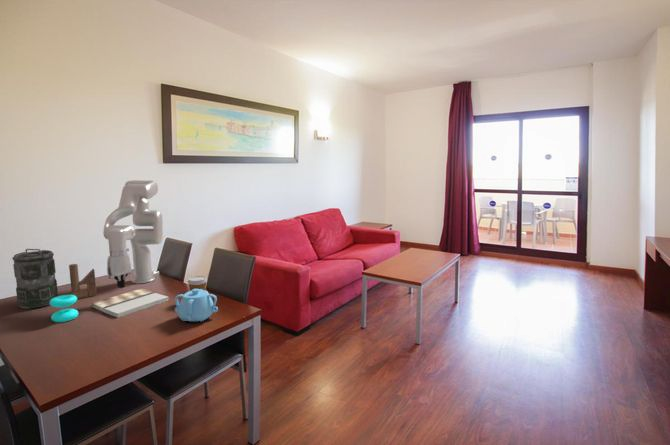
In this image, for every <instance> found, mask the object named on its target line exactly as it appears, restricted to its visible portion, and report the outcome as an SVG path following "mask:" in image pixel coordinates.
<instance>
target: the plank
mask: <svg viewBox="0 0 670 445" xmlns="http://www.w3.org/2000/svg"><path fill="white" fill-rule="evenodd" d="M151 292H153V290H149V289H145V288H142V287H141V288H140V289H135V290H132V291H129V292H124V293H121V294H118V295H115V296H111V297H108V298H104V299H100V300H98V301H93V302H91V308H94V309H96V310H98V311H100V312H102V313H104V309H103V307H106V306H109V305H112V304H115V303H119V302H122V301H125V300H128V299H132V298H135V297H138V296H142V295H145V294H148V293H151Z"/></svg>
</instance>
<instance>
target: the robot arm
mask: <svg viewBox="0 0 670 445" xmlns="http://www.w3.org/2000/svg"><path fill="white" fill-rule="evenodd" d="M158 191H159V186H158V183H157V182H156V181H155V180H138V179H137V180H135V179H134V180H128V181H126V182H125V183H124V186H123V188H122V190H121V195H120V199H119V204H118V207H117V208H115V209H114V210H113V211H112V212H111V213H110V214H109V215H108V216H107V218H106V219H105V221H104V226H103V231H102V232H103V237H104V238H105V239H106V240H107V241H108V250H109V252H108V253H109V255H108V257H107V264H106V270H107V271H106V273H107V275H108V279H110V280H115V281H116V283H117V284H116V285H117V287H118V288H120V289H124V288H126V286H125V285H126V278H127V276H130V275H131V274H132V266H133V278H131V283H132V284H147V283H150V282H153V281H155V280H156V277H155V276H156V275H160V271H159V270H157V271H153V269H152V257H151V256H152V255H151V254H152V253H151V250H150V247H148V246H149V245H150V246H151V245H152V246H153V245H160V244H161V243H162V242H163V215H162V213H161V211H159V210H157V209H156V210H154V209H153V210H151V209H149V206H150V205H149V201H148V200H150V199H152V198H153V197H154V196H156V195H157V193H158ZM129 216H132V224H133V225H134V226H135V227H152V228H135V227H134V226H132V225H124V224H121V225H120V224H119V225H116V223H117V222H118V221H119V220H121V219H125V217H129ZM129 240H130V244H131V250H132V251H131V252H132V263H131V258H130V256H129V253H128V252H129V251H130V248H127V241H129Z"/></svg>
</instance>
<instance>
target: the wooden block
mask: <svg viewBox="0 0 670 445" xmlns="http://www.w3.org/2000/svg"><path fill="white" fill-rule="evenodd" d="M78 266H79V265H78V264H77V263H72V264H68V269H69V278H70V280H69V281H70V287H71V290H70V291H71V292H70V295H75V296H76V297H77V300H78V299H83V298H88V297H95V296H97V284H96V274H95V271H96V270H95V269H94V268H92V269H91V270H89V272H87V274H86V275H85V276H84V278H82V279H81V281H80V277H79V268H78ZM82 285H86V288H87V289H81V288H80V287H81V286H82Z"/></svg>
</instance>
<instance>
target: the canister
mask: <svg viewBox="0 0 670 445" xmlns="http://www.w3.org/2000/svg"><path fill="white" fill-rule="evenodd" d="M11 258H12V261H13V271H14V272H13V273H14V278H15V283H16V288H15V292H16V300H17V306H18V307H19V308H20V309H23V310H31V309H36V308H41V307H49V306H51V305H50V300H51V299H53V298H55V297H57V296H59V292H58V282H57V279H56V272H57V271H56V265H55V264H56V263H55V259H54V252H53V251H52V250H46V249H42V250H41V249H40V248H25V251H23V252H20V253H16V254H14V256H12V257H11Z"/></svg>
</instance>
